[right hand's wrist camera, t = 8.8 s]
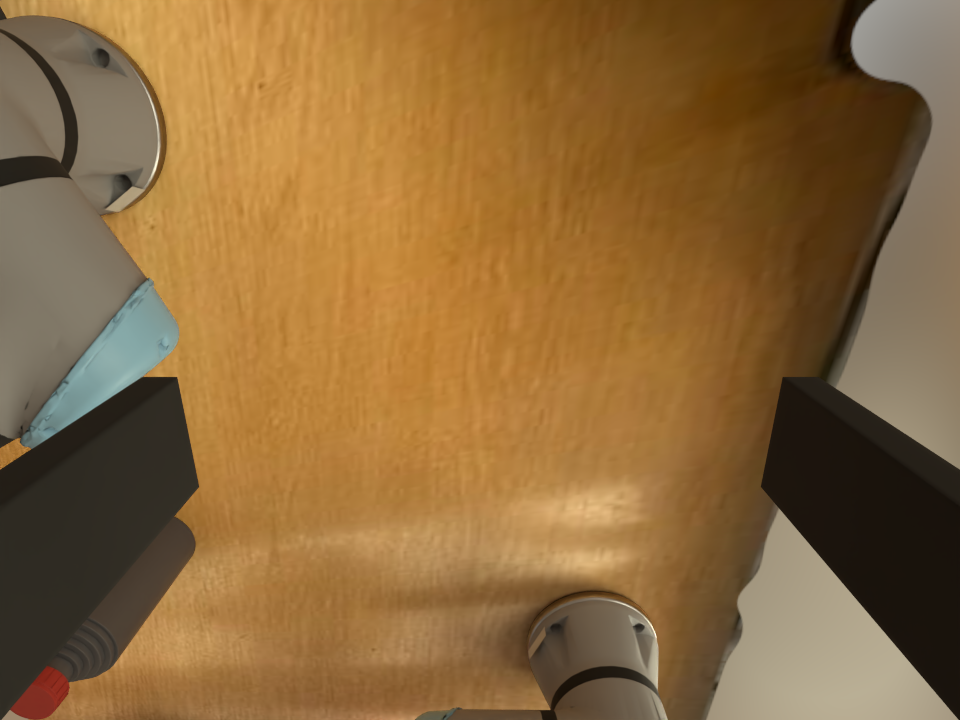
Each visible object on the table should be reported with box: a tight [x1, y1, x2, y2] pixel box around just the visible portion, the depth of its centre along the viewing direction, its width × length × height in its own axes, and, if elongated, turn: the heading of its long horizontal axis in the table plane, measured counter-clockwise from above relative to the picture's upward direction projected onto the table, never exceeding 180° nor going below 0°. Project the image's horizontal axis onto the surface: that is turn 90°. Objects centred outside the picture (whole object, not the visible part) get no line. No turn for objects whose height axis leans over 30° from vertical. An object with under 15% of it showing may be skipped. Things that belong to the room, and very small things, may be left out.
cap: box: [10, 666, 70, 719], centre depth 45 cm, size 4×4×2 cm
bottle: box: [47, 517, 195, 682], centre depth 53 cm, size 7×7×19 cm
